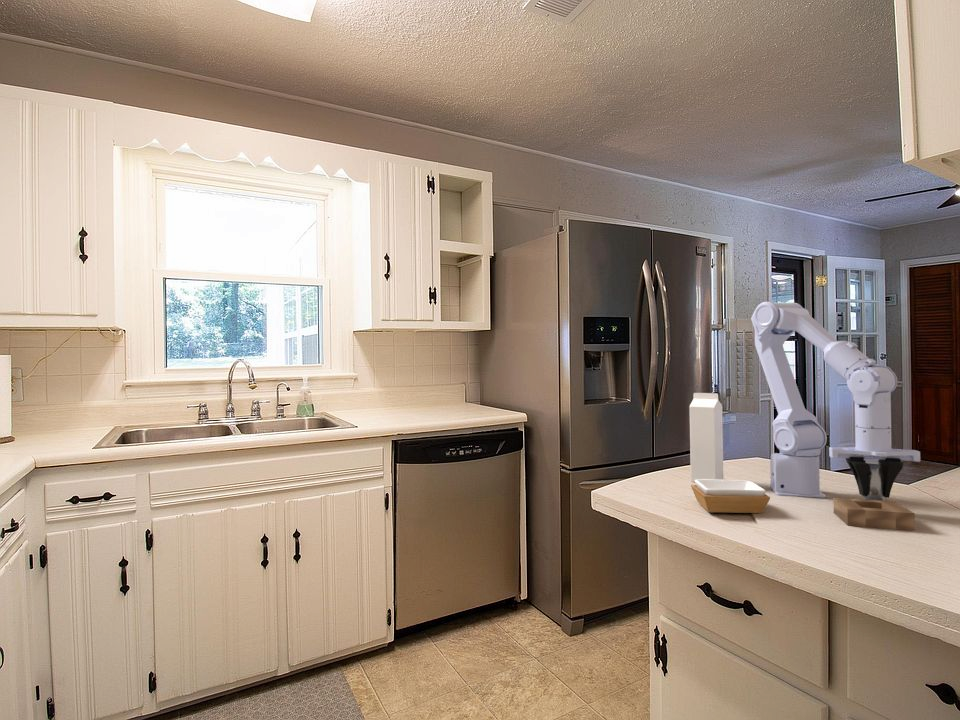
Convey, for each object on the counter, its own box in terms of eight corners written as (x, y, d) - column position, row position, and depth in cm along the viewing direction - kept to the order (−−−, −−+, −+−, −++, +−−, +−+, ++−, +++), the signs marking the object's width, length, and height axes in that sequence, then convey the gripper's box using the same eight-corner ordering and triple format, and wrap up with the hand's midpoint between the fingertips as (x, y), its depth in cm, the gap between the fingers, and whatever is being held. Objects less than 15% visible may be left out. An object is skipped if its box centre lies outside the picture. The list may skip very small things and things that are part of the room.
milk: (715, 485, 125) (714, 394, 125) (690, 481, 129) (688, 393, 129) (723, 480, 130) (722, 392, 129) (699, 477, 134) (697, 391, 133)
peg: (868, 510, 102) (867, 464, 102) (862, 506, 105) (861, 461, 105) (886, 511, 101) (885, 465, 101) (880, 507, 104) (879, 462, 104)
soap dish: (704, 514, 102) (703, 489, 102) (690, 501, 112) (690, 478, 112) (771, 516, 101) (770, 490, 101) (751, 502, 111) (750, 478, 111)
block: (847, 525, 94) (847, 508, 94) (833, 512, 102) (833, 497, 102) (914, 530, 91) (914, 513, 91) (895, 517, 98) (894, 501, 98)
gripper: (836, 428, 101) (837, 498, 101) (927, 430, 97) (928, 503, 97) (825, 424, 108) (826, 489, 108) (910, 426, 103) (911, 494, 103)
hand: (874, 495), depth 103 cm, fingers closed on peg, 3 cm apart
